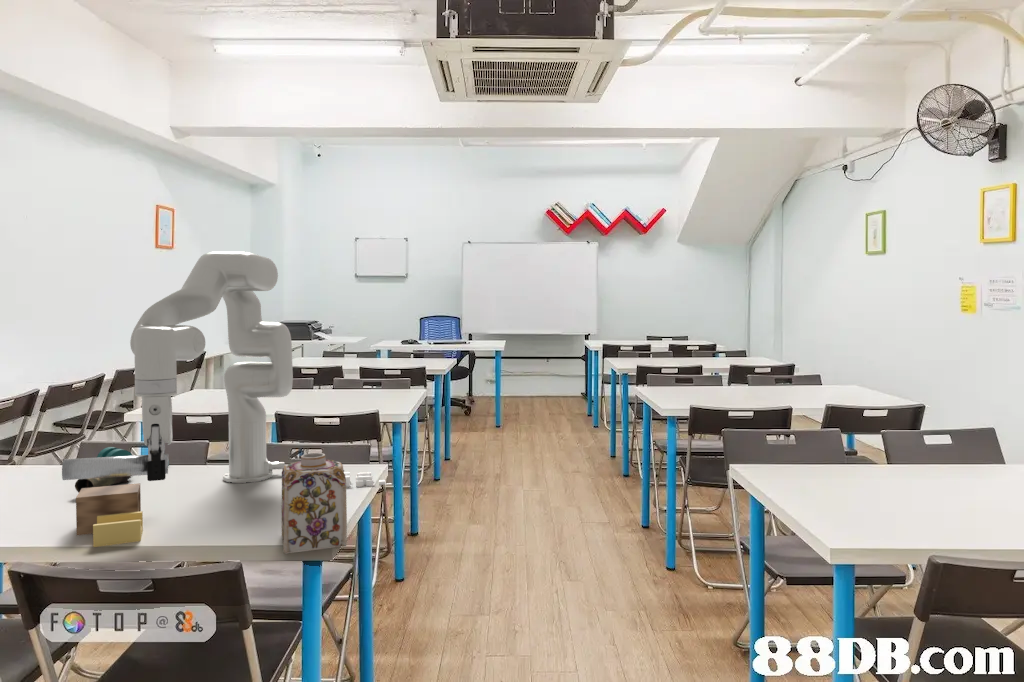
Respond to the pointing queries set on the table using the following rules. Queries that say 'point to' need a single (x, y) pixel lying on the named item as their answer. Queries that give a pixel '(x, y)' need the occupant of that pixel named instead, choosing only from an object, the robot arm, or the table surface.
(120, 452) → the bracket
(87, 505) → the walnut block
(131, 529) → the ochre V-block
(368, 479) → the modular blocks
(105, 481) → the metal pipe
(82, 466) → the steel axle
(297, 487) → the decorative jar
